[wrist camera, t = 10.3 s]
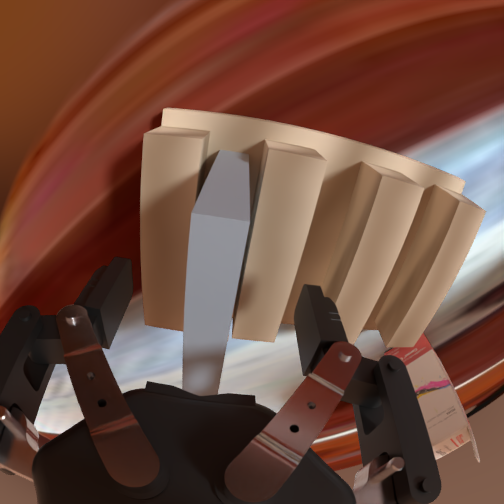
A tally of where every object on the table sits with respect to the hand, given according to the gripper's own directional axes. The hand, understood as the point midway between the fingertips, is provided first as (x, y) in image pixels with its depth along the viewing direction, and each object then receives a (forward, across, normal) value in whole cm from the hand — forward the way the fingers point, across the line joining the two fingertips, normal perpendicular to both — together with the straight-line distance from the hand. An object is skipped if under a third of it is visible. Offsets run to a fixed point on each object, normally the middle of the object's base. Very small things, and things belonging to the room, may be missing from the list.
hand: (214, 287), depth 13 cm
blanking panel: (+6, 0, 0) cm, 6 cm away
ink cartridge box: (+7, -22, +12) cm, 26 cm away
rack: (+7, -6, 0) cm, 9 cm away
